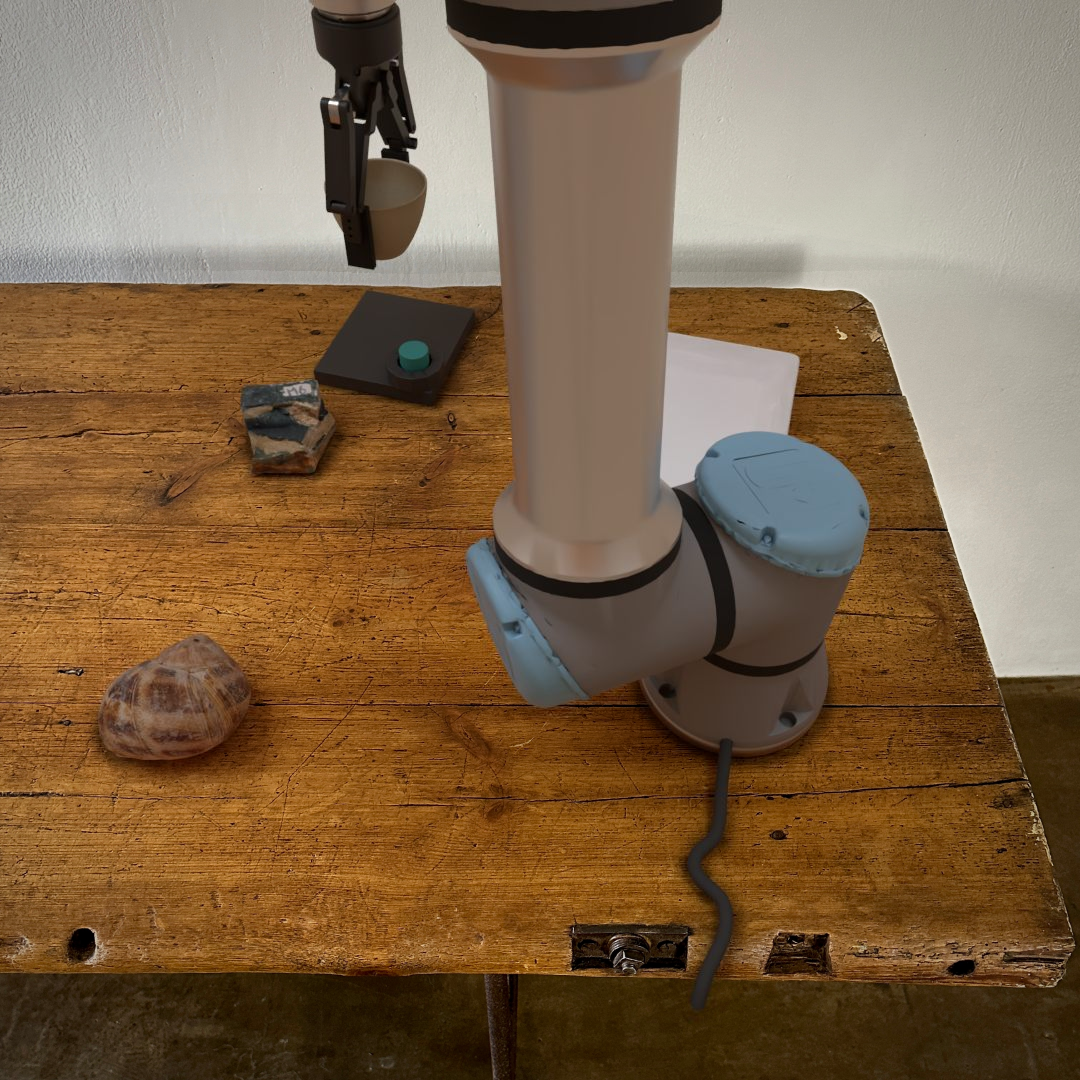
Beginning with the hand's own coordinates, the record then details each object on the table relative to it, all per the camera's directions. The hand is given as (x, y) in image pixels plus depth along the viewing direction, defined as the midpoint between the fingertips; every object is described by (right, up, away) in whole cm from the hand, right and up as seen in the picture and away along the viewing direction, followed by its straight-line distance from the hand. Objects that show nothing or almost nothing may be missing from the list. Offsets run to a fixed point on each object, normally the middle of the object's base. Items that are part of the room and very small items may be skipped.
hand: (382, 237), depth 99 cm
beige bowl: (0, -1, +1) cm, 1 cm away
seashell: (-12, -45, -23) cm, 52 cm away
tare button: (+3, -13, +1) cm, 13 cm away
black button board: (+1, -10, +8) cm, 13 cm away
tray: (+31, -23, -3) cm, 39 cm away
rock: (-9, -22, -2) cm, 23 cm away
